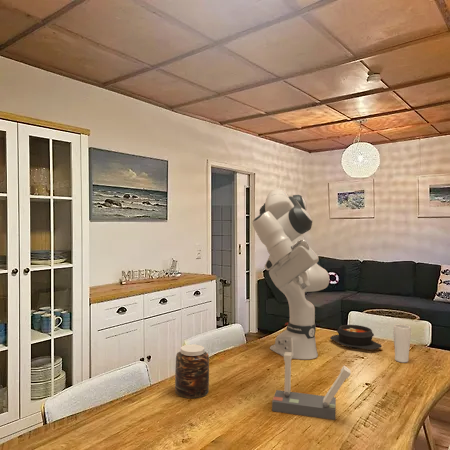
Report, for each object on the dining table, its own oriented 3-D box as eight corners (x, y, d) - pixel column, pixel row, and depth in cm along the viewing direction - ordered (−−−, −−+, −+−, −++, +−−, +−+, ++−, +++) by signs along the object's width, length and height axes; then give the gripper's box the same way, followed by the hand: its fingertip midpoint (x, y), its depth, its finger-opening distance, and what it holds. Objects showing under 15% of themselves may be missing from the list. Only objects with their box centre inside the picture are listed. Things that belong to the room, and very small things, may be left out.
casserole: (389, 348, 191) (389, 331, 191) (367, 356, 179) (367, 337, 179) (344, 336, 210) (344, 320, 210) (321, 342, 199) (322, 325, 199)
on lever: (321, 399, 125) (343, 365, 123) (327, 403, 124) (350, 369, 122) (320, 404, 121) (344, 369, 119) (327, 409, 121) (350, 373, 119)
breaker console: (276, 399, 134) (276, 389, 134) (335, 406, 129) (335, 397, 129) (272, 411, 125) (272, 401, 125) (335, 420, 120) (335, 409, 120)
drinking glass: (412, 364, 169) (412, 328, 169) (394, 362, 171) (395, 327, 171) (408, 359, 176) (408, 324, 176) (391, 357, 177) (392, 323, 177)
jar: (213, 387, 142) (214, 345, 142) (201, 401, 131) (201, 355, 131) (183, 382, 146) (184, 341, 146) (168, 395, 135) (169, 350, 135)
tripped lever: (284, 391, 132) (285, 351, 132) (291, 392, 131) (292, 352, 131) (283, 396, 128) (283, 355, 128) (290, 397, 128) (290, 355, 128)
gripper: (308, 235, 134) (332, 270, 130) (273, 264, 148) (293, 297, 144) (296, 239, 130) (321, 275, 125) (261, 269, 143) (282, 302, 139)
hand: (306, 287), depth 135 cm, fingers closed
